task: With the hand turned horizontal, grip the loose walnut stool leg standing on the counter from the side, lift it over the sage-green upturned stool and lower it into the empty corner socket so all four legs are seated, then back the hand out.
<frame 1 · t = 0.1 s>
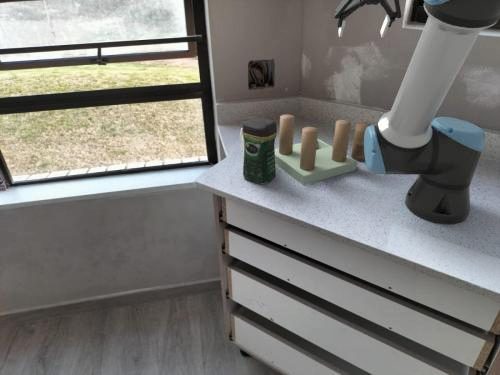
hand: (360, 34, 120), 36 cm above the worktop, tool tilted 35°, fingers open, 13 cm apart
upturned stool: (311, 164, 118), on the worktop
coffee jar: (259, 178, 111), on the worktop
mug: (249, 163, 119), on the worktop
walnut leg: (357, 158, 122), on the worktop
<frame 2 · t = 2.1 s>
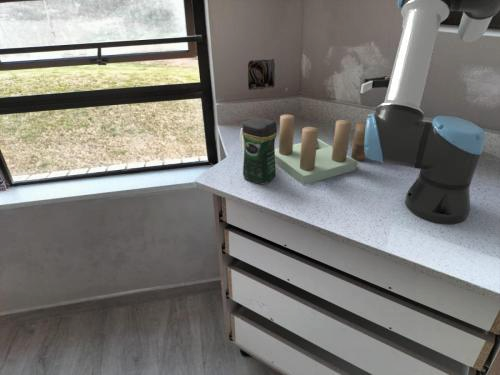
hand: (381, 92, 118), 20 cm above the worktop, tool horizontal, fingers open, 13 cm apart
nothing on the worktop moved.
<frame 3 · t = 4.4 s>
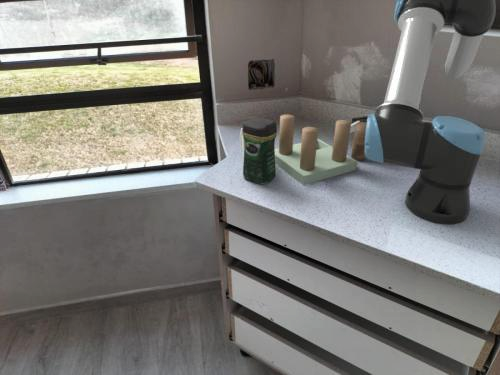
hand: (367, 134, 121), 7 cm above the worktop, tool horizontal, fingers open, 13 cm apart
nothing on the worktop moved.
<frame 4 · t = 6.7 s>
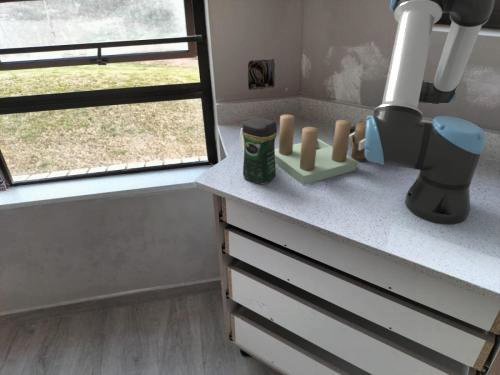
hand: (352, 143, 115), 7 cm above the worktop, tool horizontal, fingers closed on walnut leg, 4 cm apart
walnut leg: (357, 158, 122), on the worktop, touching gripper
everything else where it was.
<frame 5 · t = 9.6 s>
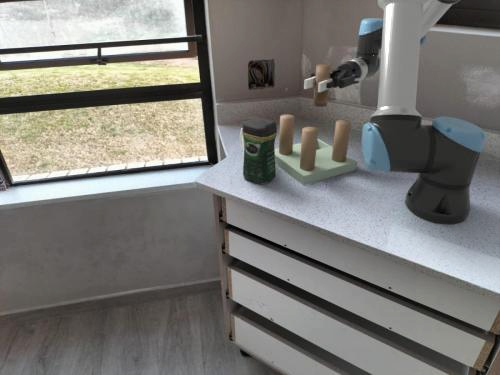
hand: (312, 85, 110), 24 cm above the worktop, tool horizontal, fingers closed on walnut leg, 4 cm apart
walnut leg: (320, 104, 117), point 17 cm above the worktop, touching gripper
everything else where it was.
when the fingers open (8 cm above the worktop, at t = 12.8 s): walnut leg drops 1 cm, resting in upturned stool.
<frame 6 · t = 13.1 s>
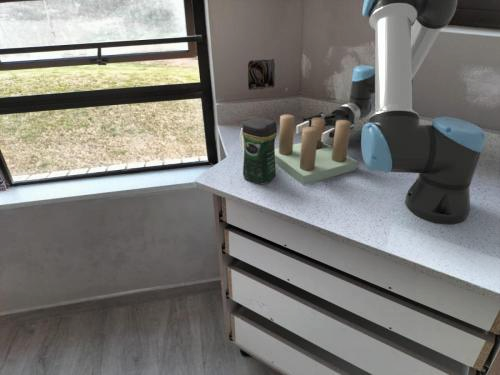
hand: (309, 133, 118), 8 cm above the worktop, tool horizontal, fingers open, 9 cm apart
walnut leg: (315, 153, 125), resting in upturned stool
everything else where it was.
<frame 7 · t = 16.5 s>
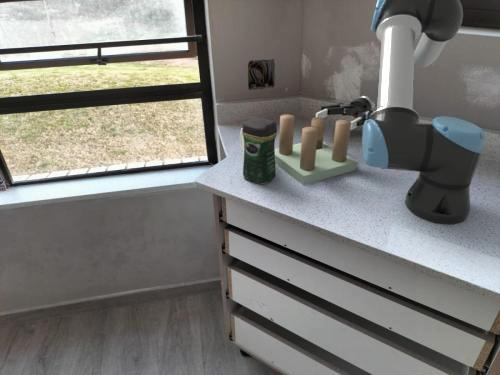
hand: (333, 121, 127), 9 cm above the worktop, tool horizontal, fingers open, 13 cm apart
nothing on the worktop moved.
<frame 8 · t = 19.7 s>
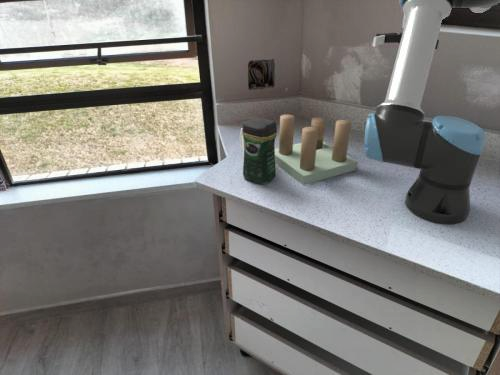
hand: (394, 44, 113), 34 cm above the worktop, tool horizontal, fingers open, 13 cm apart
nothing on the worktop moved.
at the end: walnut leg 0.1 cm from the target spot on the upturned stool, point 0.0 cm above the upturned stool's base; walnut leg tilted 0°; the gripper is holding nothing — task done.
